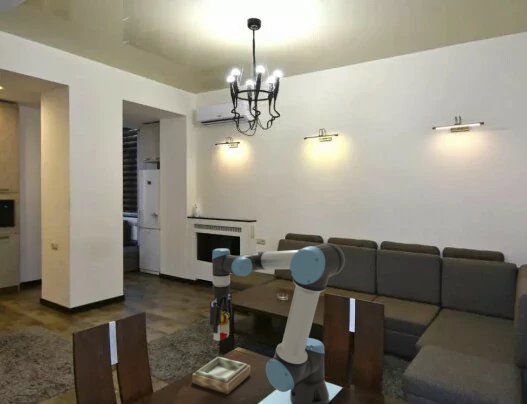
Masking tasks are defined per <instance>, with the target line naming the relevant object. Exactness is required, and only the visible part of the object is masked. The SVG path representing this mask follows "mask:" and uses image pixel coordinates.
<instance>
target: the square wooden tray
mask: <svg viewBox="0 0 527 404" xmlns="http://www.w3.org/2000/svg"><path fill="white" fill-rule="evenodd" d="M250 375H251V364H250V365H249V364H247V363H245V362H241V361H238V360H232V359H229V358H226V357H222V356H216V357H215V358H213V359H212V360H211V361H209V362H208V363H206V364H204V365H203V366H202V367H200V368H199V369H198V370H196V371H195V372H193V373H192V384H194V385H197V386H200V387H203V388H205V389H206V388H207V389H210V390H213V391H217V392H219V393H222V394H226V395H229V394H230V393H231V392H232V391H233V390H235V389H236V388H237V387H238V386H239V385H241V383H242V382H243V381H245V380H246V379H248V377H249V376H250Z"/></svg>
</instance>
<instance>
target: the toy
mask: <svg viewBox="0 0 527 404" xmlns="http://www.w3.org/2000/svg"><path fill="white" fill-rule="evenodd" d="M222 309H223V308H222ZM222 309H221V313H220V319H219V325H220V341H217V342H219V343H220V342H221V343H225V339H226V338H229V335H228V334H226V333H223V332H225V331H226V330H227V329H228V326H229V327H230V320H228V319H229V317H230V313H228V312H227V313H228V314H229V316H228V315H227V313H225V311H224V312H223V310H222ZM224 313H225V314H224ZM224 315H225V316H224ZM228 321H229V322H228ZM228 323H229V324H228Z"/></svg>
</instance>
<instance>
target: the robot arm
mask: <svg viewBox="0 0 527 404" xmlns="http://www.w3.org/2000/svg"><path fill="white" fill-rule="evenodd" d="M211 260H212V265H211V266H212V284H213V285H212V294H213V295H214V298H213V301H210V302H209V306H210V312H209V325H210V326H212V327H213V329H212V330H213V341H217V342H218V341H220V325H219V319H220V313H221V310H222V311H223V312H224V311H225V313H227V312H228V313H229V314H230V317H229V319H228V320H229V321H228V322H229V323H228V324H229V326H228V329H227V330H226V331H225V332H223V333H226V334H228V336H229V335H230V321H231V320H232V319H233V304H232V303H233V300H232V299H233V294H230V293H231V285H230V284H231V274H232V275H236V276H238V277H246V276H249V274H251V272H254V271H264V270H266V271H267V270H289V271H290V272H291V276H292V282H293V284H294V285H295V287H294V291H293V297H292V299H291V304H290V308H289V313H288V317H287V320H286V321H287V322H286V325H285V329H284V333H283V338H282V342H281V343H279V344H277V346H276V348H275V352H274V356H273V358H271V359H270V358H269V360H268V361H267V362H266V365H265V374H266V377H267V379H268V381H269V383H270V385H271V386H272V387H273V388H274V389H275V390H276V391H279V392H281V393H286V392H288V391H290V394H289V397H290V402H291V403H292V404H329V402H330V395H329V394H330V393H329V390H328V387H327V384H326V381H325V354H326V352H325V346H324V343H323V342H322V341H320V340H319V339H316V338H312V337H309V336H310V333H311V329H312V325H313V320H314V318H315V314H316V310H317V306H318V302H319V299H320V298H319V297H320V295H321V293H323V292H325V291H326V290H327V289H326V288H327V286H328V282H329V281H328V280H329V278H331V277H333V276H336V275H337V274H339V273H340V272H341V271H342V270H343V268H344V266H345V263H346V259H345V254H344V252H343V250H342V249H341V248H340V247H339V246H337V245H336V244H334V243H329V242H327V243H321V244H317V245H312V246H311V245H310V246H309V245H308V246H305V247H303V248H300V249H291V250H290V249H289V250H279V251H278V250H277V251H276V250H275V251H274V250H273V251H258V252H253V253H247V254H241V255H231V251H230V249H229V248H221V247H220V248H215V249H213V250H212V259H211ZM222 308H223V309H222ZM225 313H224V314H225ZM228 313H227V315H228V316H229V314H228ZM223 316H225V315H223Z"/></svg>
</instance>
